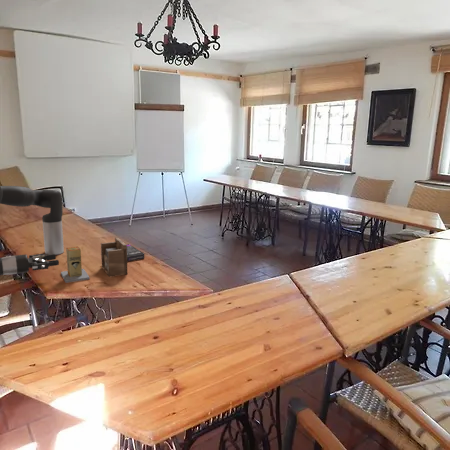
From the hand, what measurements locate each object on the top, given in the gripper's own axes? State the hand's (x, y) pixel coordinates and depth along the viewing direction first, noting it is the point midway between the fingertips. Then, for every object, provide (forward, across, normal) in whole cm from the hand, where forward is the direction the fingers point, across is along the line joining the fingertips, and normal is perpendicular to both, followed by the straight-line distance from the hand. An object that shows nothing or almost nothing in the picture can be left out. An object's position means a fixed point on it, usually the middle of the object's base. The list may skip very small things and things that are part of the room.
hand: (57, 259), depth 173 cm
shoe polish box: (+7, 0, +8) cm, 11 cm away
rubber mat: (+7, 0, +9) cm, 11 cm away
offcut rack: (+25, 0, +9) cm, 26 cm away
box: (+36, +20, +10) cm, 42 cm away
